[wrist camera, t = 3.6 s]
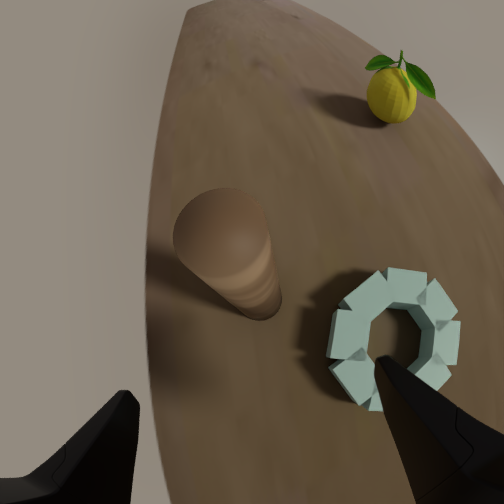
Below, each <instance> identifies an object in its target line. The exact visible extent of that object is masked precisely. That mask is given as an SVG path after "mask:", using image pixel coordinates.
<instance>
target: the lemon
mask: <svg viewBox="0 0 504 504" xmlns="http://www.w3.org/2000/svg"><path fill="white" fill-rule="evenodd" d="M402 59H403V60H404V58H403V51H402V50H401V53H400V60H399V61H397V62H395V61H393V60H392V59H391V58H389V57H387V56H385V55H378V56H376V57H374V58H373V59H371V60H370V61H369V63H368V64H367V66H366V67H365V69H367V70H369V71H370V70H376V69H380V68H381V69H380V70H378V71H377V72H376V73H375V74H374V75H373V77H372V79H371V81H370V83H369V86H368V89H367V101H368V105H369V108H370V109H371V111H372V112H373V114H374V115H375V116H377V117H378V118H379V119H381V120H383V121H385V122H387V123H401V122H403V121H405V120H407V119H408V118H409V116H410V115H411V114H412V112H413V111H414V108H415V104H416V95H417V94H416V89H417V90H419V91H420V92H421V93H423V94H424V95H426V96H428V97H431V98H434V99H436V97H435V89H434V86H433V83H432V82H431V80H430V78H429V77H428V75H427V74H426V73H425V72H424V71H423V70H422V69H420V68H419V67H418V66H416V65H413V64H410V63H408V62H406V61H405V60H404V62H405V64H406V72H407V73H406V72H405V71H404V70H402V69H401V68H400V65H401V62H402ZM394 63H399V64H398V67H397V66H396V67H392V66H389V65H391V64H394Z"/></svg>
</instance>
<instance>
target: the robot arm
mask: <svg viewBox="0 0 504 504" xmlns="http://www.w3.org/2000/svg"><path fill="white" fill-rule="evenodd" d="M374 378H375V382H376V386H377V389H378V393H379V397H380V400H381V404H382V408H383V412H384V415H385V418H386V420H387V423H388V425H389V428H390V431H391V433H392V436H393V438H394V441H395V444H396V446H397V449H398V452H399V455H400V457H401V460H402V463H403V466H404V469H405V472H406V474H407V477H408V480H409V483H410V486H411V489H412V492H413V496H414V499H415V501H416V504H504V434H502V433H500V432H498V431H496V430H494V429H492V428H491V427H489V426H487V425H485V424H483V423H482V422H480V421H478V420H477V419H475V418H473V417H472V416H471V415H469V414H468V413H466V412H465V411H463V410H462V409H461V408H459V407H457V406H456V405H455V404H454V403H452V402H451V401H450V400H448V399H447V398H446V397H444V396H443V395H442V394H440V393H439V392H437V391H436V390H435V389H433V388H432V387H431V386H429V385H428V384H427V383H425V382H424V381H423V380H421V379H420V378H419V377H417V376H416V375H415V374H413V373H412V372H410V371H409V370H408V369H406V368H405V367H404V366H402V365H401V364H400V363H398V362H397V361H396V360H394V359H393V358H392V357H390V356H389V355H383V356H380V357H377V358H376V361H375V367H374ZM139 416H140V404H139V402H138V401H137V399H136V398H135V397H134V396H133V394H132V393H131V392H130V391H128V390H119V391H118V392H117V393H116V394H115V395H114V396H113V397H112V398H111V399H110V400H109V401H108V402H107V403H106V404H105V405H104V406H103V407H102V408H101V409H100V410H99V411H98V412H97V413H96V414H95V415H94V416H93V417H92V418H91V419H90V420H89V421H88V422H87V423H86V424H85V425H84V426H83V427H82V428H81V429H79V430H78V432H76V433H75V434H74V435H73V436H72V437H71V438H70V439H69V440H68V441H67V442H66V444H64V445H63V446H62V447H61V448H60V449H59V450H58V451H57V452H56V453H55V454H54V455H52V456H51V457H50V458H49V459H48V460H47V461H45V462H44V463H43V464H41V465H40V466H39V467H38V468H36V469H35V470H34V471H33V472H31V473H30V474H28V475H26V476H24V477H19V478H0V504H130V502H131V492H132V483H133V474H134V466H135V459H136V451H137V444H138V435H139V434H138V433H139Z"/></svg>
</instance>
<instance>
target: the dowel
mask: <svg viewBox="0 0 504 504" xmlns="http://www.w3.org/2000/svg"><path fill="white" fill-rule="evenodd" d="M173 244H174V248H175V251H176V254H177V256H178V257H179V259H180V260H181V262H182V263H183V264H184V265H185V266H186V267H187V268H188V269H190V270H191V271H192V272H193V273H194V274H196V275H197V276H198V277H199V278H200V279H202V280H203V281H204V282H205V283H206V284H208V285H209V286H210V287H211V288H212V289H214V290H215V291H216V292H217V293H219V294H220V295H221V296H222V297H223V298H225V299H226V300H227V301H228V302H230V303H231V304H232V305H233V306H235V307H236V308H237V309H238V310H240V311H241V312H242V313H243V314H245V315H246V316H247V317H249V318H251V319H253V320H258V321H262V320H267V319H269V318H271V317H273V316H274V315H275V314H276V313H277V312H278V310H279V309H280V306H281V303H282V296H281V290H280V285H279V280H278V275H277V270H276V265H275V260H274V255H273V250H272V245H271V240H270V235H269V231H268V226H267V221H266V217H265V214H264V211H263V209H262V207H261V206H260V204H259V203H258V202H257V201H256V200H255V199H254V198H253V197H252V196H250V195H249V194H247V193H245V192H243V191H241V190H237V189H232V188H218V189H213V190H210V191H207V192H204V193H202V194H200V195H199V196H197V197H195V198H194V199H193V200H191V201H190V202H189V203H188V204H187V205H186V206H185V207H184V209H183V210H182V211H181V213H180V214H179V216H178V218H177V220H176V223H175V226H174V231H173Z"/></svg>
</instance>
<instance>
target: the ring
mask: <svg viewBox="0 0 504 504" xmlns="http://www.w3.org/2000/svg"><path fill="white" fill-rule="evenodd" d="M338 305H339V307H340V308H341V309H342V310H341V309H337V310H336V311H335V312H334V313H333V315H332V322H331V328H330V335H329V341H328V347H327V353H326V357H328V358H335V359H338V360H337V361H336V362H335V363H333V364H332V365H330V366H329V367H328V368H329V369H330V371H331V372H332V374H333V375H334V376H335V378H336V379H337V380H338V382H339V383H340V384H341V386H342V387H343V389H344V390H345V391H346V393H347V394H348V395H349V397H350V398H351V399H352V400H353V401H354V402H355V403H356V404H358V405H359V406H360V405H362V406H363V407H364V408H366V409H367V410H368V411H383V408H382V404H381V400H380V397H379V393H378V389H377V386H376V382H375V378H374V367H375V364H374V363H373V362H372V360H371V359H370V358H369V356H368V355H367V353H366V352H367V346H368V339H369V332H370V324H371V321H372V320H373V319H374V318H375V317H377V316H378V315H379V314H380V313H381V312H382V311H383V310H384V309H386V308H393V309H403V310H407V311H408V312H409V313H410V315H411V316H412V318H413V319H414V320H415V322H416V323H417V325H418V326H419V328H420V329H421V330H422V331H421V340H420V349H419V356H418V358H417V359H416V360H415V361H414V362H413V363H412V364H411V365H410V366H409V367H408V368H407V369H408V370H409V371H410V372H412V373H413V374H415V375H416V376H417V377H419V378H420V379H421V380H423V381H424V382H425V383H427V384H428V385H429V386H431V387H432V388H433V389H435V390H436V391H437V390H438V389H439V388H440V387H441V386H442V385H443V384H444V383H445V382H446V381H447V380H448V379H449V377H450V376H451V373H450V371H449V370H448V368H447V366H446V365H456V363H457V356H458V347H459V336H460V321H450V320H451V319H452V318H453V317H454V315H455V314H456V313H457V312H458V311H457V309H456V307H455V306H454V304H453V303H452V302H451V300H450V299H449V297H448V296H447V294H446V293H445V291H444V290H443V289H442V287H441V286H440V284H439V283H438V282H437V280H436V279H435V278H434V279H433V280H431V281H429V282H428V283H427V273H424V272H417V271H410V270H403V269H396V268H389V267H388V268H387V269H386V270H385V271H384V272H383V273H382V274H381V273H380V272H379V271H377V272H376V273H374V274H373V275H372V276H371V277H370V278H368V279H367V280H366V281H365V282H364V283H362V284H361V285H360V286H359V287H358V288H356V289H355V290H354V291H353V292H351V293H350V294H349V295H348V296H346V297H345V298H344V299H343V300H342V301H341V302H340V303H339V304H338Z"/></svg>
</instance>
